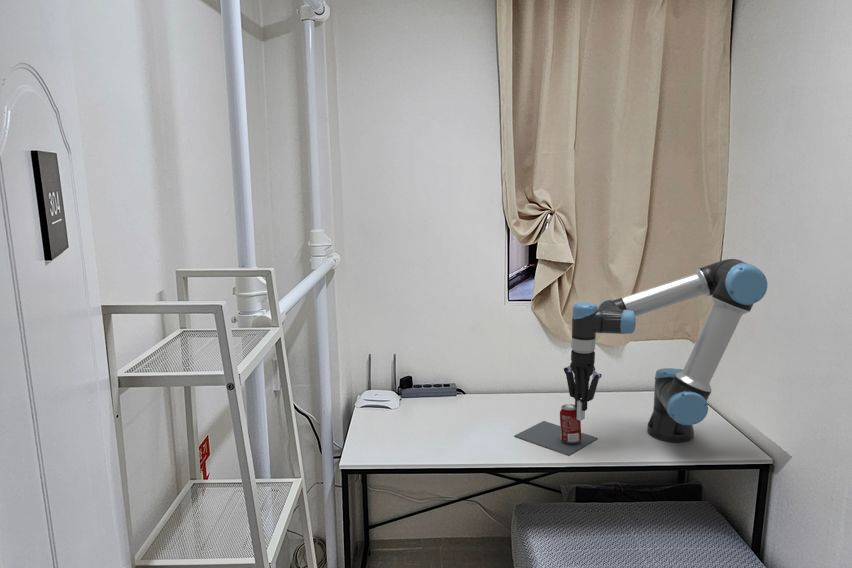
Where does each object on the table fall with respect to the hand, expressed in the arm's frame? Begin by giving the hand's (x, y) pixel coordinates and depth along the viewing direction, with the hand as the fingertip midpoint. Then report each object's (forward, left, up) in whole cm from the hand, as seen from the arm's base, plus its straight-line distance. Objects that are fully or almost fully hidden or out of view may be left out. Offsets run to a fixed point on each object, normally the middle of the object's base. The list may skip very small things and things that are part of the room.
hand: (580, 418), depth 208 cm
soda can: (+3, 0, -9) cm, 10 cm away
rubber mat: (+9, 0, -10) cm, 14 cm away
